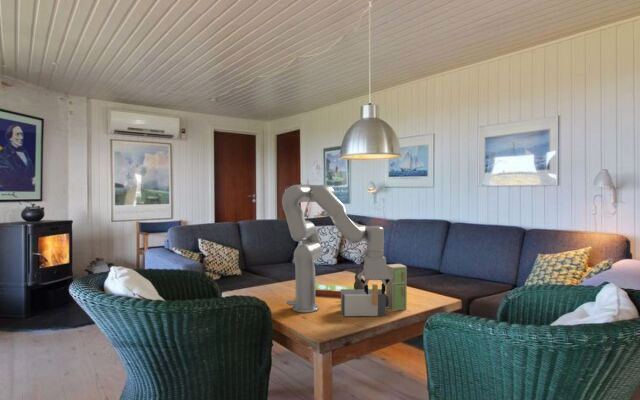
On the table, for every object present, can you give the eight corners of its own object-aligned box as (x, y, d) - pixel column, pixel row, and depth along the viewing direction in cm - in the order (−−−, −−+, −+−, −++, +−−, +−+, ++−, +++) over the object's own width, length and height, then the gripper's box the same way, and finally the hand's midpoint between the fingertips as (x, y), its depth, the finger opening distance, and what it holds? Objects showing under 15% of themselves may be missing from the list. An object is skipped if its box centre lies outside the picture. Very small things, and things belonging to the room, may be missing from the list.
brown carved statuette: (352, 305, 208) (347, 270, 210) (360, 303, 211) (355, 268, 213) (366, 306, 198) (361, 269, 200) (375, 304, 201) (369, 268, 203)
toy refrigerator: (392, 311, 189) (392, 267, 188) (385, 307, 196) (385, 264, 195) (407, 310, 191) (407, 266, 190) (400, 305, 198) (400, 263, 198)
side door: (345, 317, 179) (345, 285, 178) (344, 315, 182) (344, 283, 182) (378, 317, 179) (378, 285, 178) (377, 315, 182) (377, 283, 182)
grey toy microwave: (342, 316, 182) (342, 293, 182) (340, 310, 191) (341, 288, 191) (389, 316, 183) (389, 293, 182) (385, 309, 192) (385, 287, 191)
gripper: (356, 255, 175) (356, 295, 176) (396, 255, 175) (395, 295, 176) (354, 252, 183) (354, 291, 183) (392, 252, 183) (392, 291, 184)
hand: (374, 293), depth 180 cm, fingers open, 6 cm apart
